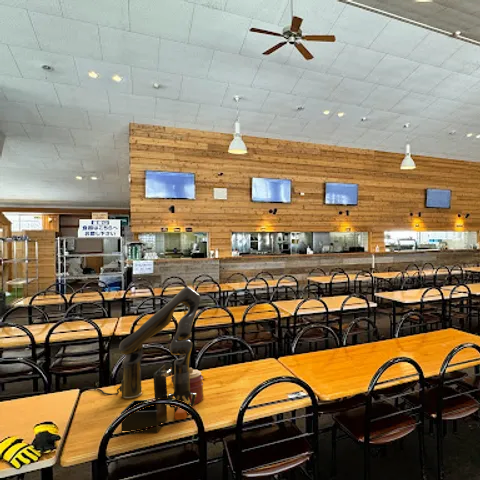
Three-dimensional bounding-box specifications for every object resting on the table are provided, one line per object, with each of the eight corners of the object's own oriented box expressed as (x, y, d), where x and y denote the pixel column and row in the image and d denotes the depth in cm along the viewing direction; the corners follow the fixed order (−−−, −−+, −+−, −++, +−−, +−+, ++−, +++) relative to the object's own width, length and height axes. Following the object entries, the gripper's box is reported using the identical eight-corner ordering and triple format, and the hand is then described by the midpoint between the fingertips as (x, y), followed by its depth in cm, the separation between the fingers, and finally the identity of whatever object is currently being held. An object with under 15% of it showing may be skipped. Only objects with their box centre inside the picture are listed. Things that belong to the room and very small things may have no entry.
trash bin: (121, 434, 169) (121, 412, 169) (134, 420, 182) (133, 400, 182) (156, 432, 170) (156, 411, 170) (167, 419, 182) (166, 399, 182)
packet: (185, 419, 182) (185, 412, 182) (174, 419, 182) (174, 413, 182) (190, 411, 190) (190, 405, 190) (180, 411, 190) (180, 405, 190)
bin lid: (153, 374, 170) (164, 373, 170) (163, 364, 182) (174, 363, 182) (155, 410, 170) (167, 409, 170) (165, 398, 182) (176, 397, 182)
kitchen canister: (205, 394, 211) (204, 363, 210) (201, 404, 198) (200, 371, 198) (181, 396, 209) (180, 364, 209) (175, 406, 196) (174, 372, 196)
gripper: (198, 377, 190) (199, 410, 190) (169, 378, 190) (170, 411, 190) (194, 382, 183) (194, 417, 183) (164, 383, 182) (164, 418, 182)
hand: (182, 414), depth 186 cm, fingers closed on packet, 5 cm apart
